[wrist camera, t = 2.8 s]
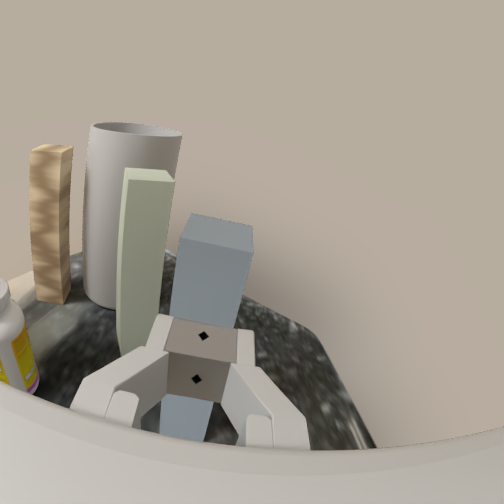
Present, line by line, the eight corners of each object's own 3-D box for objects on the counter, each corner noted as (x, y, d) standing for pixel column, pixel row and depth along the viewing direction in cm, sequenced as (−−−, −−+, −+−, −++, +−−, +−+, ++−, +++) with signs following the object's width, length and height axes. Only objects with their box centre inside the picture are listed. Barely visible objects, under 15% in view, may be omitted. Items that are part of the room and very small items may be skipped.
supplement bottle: (31, 355, 31) (12, 264, 26) (48, 394, 28) (24, 301, 22) (-14, 368, 26) (-43, 276, 21) (-2, 410, 23) (-42, 317, 17)
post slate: (159, 434, 28) (179, 237, 19) (166, 402, 32) (191, 213, 23) (202, 442, 29) (253, 252, 20) (206, 410, 33) (252, 225, 24)
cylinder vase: (170, 282, 54) (194, 133, 44) (139, 323, 43) (159, 139, 33) (107, 261, 55) (121, 120, 44) (68, 295, 43) (72, 125, 33)
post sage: (120, 355, 37) (128, 179, 27) (116, 332, 40) (124, 167, 31) (155, 353, 39) (175, 182, 30) (148, 330, 42) (166, 170, 33)
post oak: (37, 300, 40) (30, 150, 31) (46, 284, 44) (44, 144, 35) (63, 304, 41) (61, 152, 32) (71, 288, 45) (73, 146, 36)
